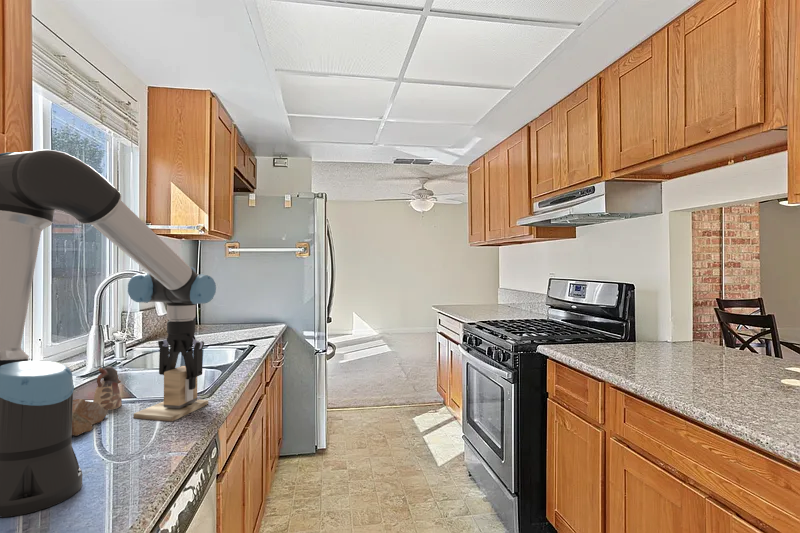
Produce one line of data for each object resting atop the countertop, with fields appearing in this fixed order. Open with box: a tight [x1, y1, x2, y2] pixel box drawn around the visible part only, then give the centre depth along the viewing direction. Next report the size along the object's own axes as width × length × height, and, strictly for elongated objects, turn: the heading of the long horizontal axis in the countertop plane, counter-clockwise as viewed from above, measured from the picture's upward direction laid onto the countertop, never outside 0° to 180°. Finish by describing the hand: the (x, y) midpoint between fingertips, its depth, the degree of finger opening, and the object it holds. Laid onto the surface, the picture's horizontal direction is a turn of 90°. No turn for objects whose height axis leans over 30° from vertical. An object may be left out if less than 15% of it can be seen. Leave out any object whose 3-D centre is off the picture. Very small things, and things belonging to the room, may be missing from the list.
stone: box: [72, 398, 109, 437], centre depth 117 cm, size 17×9×10 cm, turn 8°
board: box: [133, 398, 209, 422], centre depth 131 cm, size 16×12×1 cm
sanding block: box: [163, 365, 198, 409], centre depth 132 cm, size 8×5×10 cm, turn 169°
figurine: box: [92, 366, 123, 411], centre depth 134 cm, size 7×7×12 cm
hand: (180, 399), depth 132 cm, fingers closed on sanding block, 5 cm apart
